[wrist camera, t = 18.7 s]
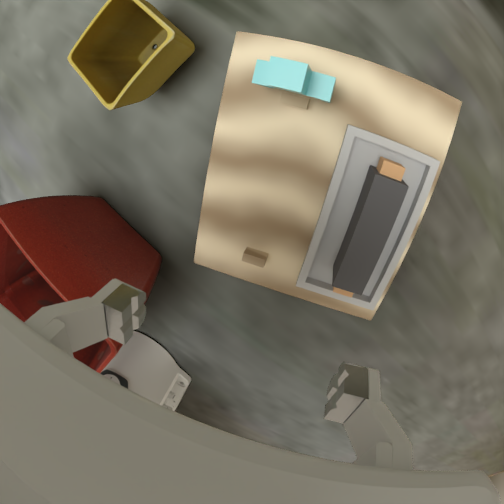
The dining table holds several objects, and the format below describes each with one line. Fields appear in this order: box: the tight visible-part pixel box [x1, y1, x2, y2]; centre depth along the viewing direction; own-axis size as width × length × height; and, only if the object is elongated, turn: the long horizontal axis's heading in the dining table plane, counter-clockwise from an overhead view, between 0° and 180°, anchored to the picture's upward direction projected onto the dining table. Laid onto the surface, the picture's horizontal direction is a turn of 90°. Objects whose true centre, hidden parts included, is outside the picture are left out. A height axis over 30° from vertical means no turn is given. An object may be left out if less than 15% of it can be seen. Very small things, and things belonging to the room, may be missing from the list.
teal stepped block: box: [252, 56, 336, 103], centre depth 20 cm, size 2×6×8 cm, turn 78°
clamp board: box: [194, 32, 462, 320], centre depth 28 cm, size 26×22×3 cm
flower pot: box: [67, 0, 195, 110], centre depth 22 cm, size 9×9×9 cm
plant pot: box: [0, 195, 162, 373], centre depth 33 cm, size 19×19×17 cm
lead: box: [332, 156, 409, 298], centre depth 26 cm, size 13×3×4 cm, turn 168°
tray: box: [296, 124, 440, 310], centre depth 28 cm, size 17×9×2 cm, turn 168°
